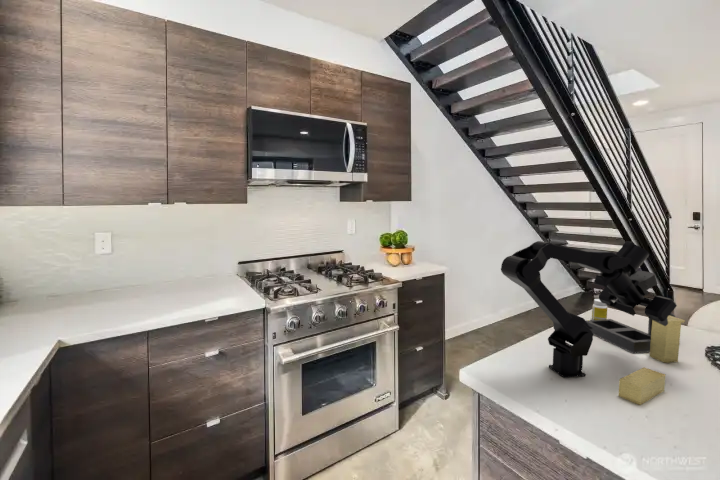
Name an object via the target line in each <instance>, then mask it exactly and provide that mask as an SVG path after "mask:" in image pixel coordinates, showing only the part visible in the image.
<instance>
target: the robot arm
mask: <svg viewBox="0 0 720 480" xmlns="http://www.w3.org/2000/svg"><path fill="white" fill-rule="evenodd" d="M649 256H650V253H649V251H648V250H647V249H644V248H643V247H641V246H639V245H637V244H635V242H634V241H625V242H624V243H623V245H622V247H620V249H619V250H618V251H617V252H616V253H615V252H613V251H605V250H600V249H595V248H594V249H592V248H590V249H588V248H587V249H586V248H585V249H578V248H572V247H568V246H563V245H558V244H554V243H552V242H548V241H542V240H538V241H535V242H532V244H530V245H529V246H527V247H525V248H522V249H519V250H517V251H516V252H514V253H513V254H511V255H509V256H506V257H505V258H504V259H503V260H502V262H501V268H500V271H501V273H502V275H503V276H505V277H506V278H508V279H509V281H512V283H513V282H514V284H516V285H518V286H519V287H521V288H522V289H524V290H525V292H526V293H527V294H528V295H529V297H530V298H531V299H532V300H533V301H534V302H535V304H537V305H538V307H540V309H541V310H542V311H543V312H544V313H545V315H546V316H547V317H548V318H549V319H550V320H551V321H552V323H553V332H552V333H551V334H550V335H549V336H548V337H547V341H548V344H549V345H550V346H552V347H553V351H552V352H553V353H552V364H549V365H548V368H550V370H552V371H553V372H555V373H556V374H558V375H559V376H561V377H562V378H575V377H585V376H586V373H585V372H584V371H583V363H584V361H583V360H584V356H586V357H587V356H588V355H589V352H590V350H591V346H592V343H593V340H594V335H593V332H592V331H591V330H590V329H592V327H590V326H589V325H588V324H587V322H586V321H587V320H586V319H585V318H584V317H582V316H579V315H576V314H574V313H571V312H569V311H567V309H566V308H565V307H564V306H563V305H562V304H561V302H559V300H558V299H557V298H556V296H554V294H553V293H552V292H551V291H550V289H549V288H548V287H547V286H546V285H545V284H544V283H543V282H542V280H541V278H542V277H541V271H542V270H543V269H545V267H546V264H547V262H548V261H549V260H550V259H554V260H559V261H564V262H569V263H575V264H577V265H579V266H580V267H582V268H584V269H588V270H591V271H596V272H598V274H596V275H595V279H594V281H593V284H594V285H597V286H601V287H604V288H603V289H602V290H601V292H600V293H599V294H598V299H599V300H600V301H601V302H602V303H605V304H606V306H609V307H611V308H614V309H616V310H619V311H622V312H624V313H626V314H629V315H630V316H633V317H634V316H635V315H636V314H637V313H636V311H635V307H637V306H643V307H645V308H644V314H645V315H646V316H647V318H648V320H649V319H651V320H653V321H655V322H657V323H659V324H661V325H664V326H666V325H667V324H668V319H667V317H668V316H669V315H670V313H673V311H674V310H675V309H676V307H678V305H677V303H676V302H675V301H674V299H672V298H670V297H665V296H661V295H655V296H654V297H653V298H649V297H647V296H648V294H649V293H650V292H649V289H651V288H653V287H654V286H657V285H658V281H657V277H656V274H655V273H654V272H650V271H645V270H639V268H640V267H641V266H642V265H643V264H644V262H645V261H646V260H647V259H648V258H649ZM645 296H646V297H645Z"/></svg>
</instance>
